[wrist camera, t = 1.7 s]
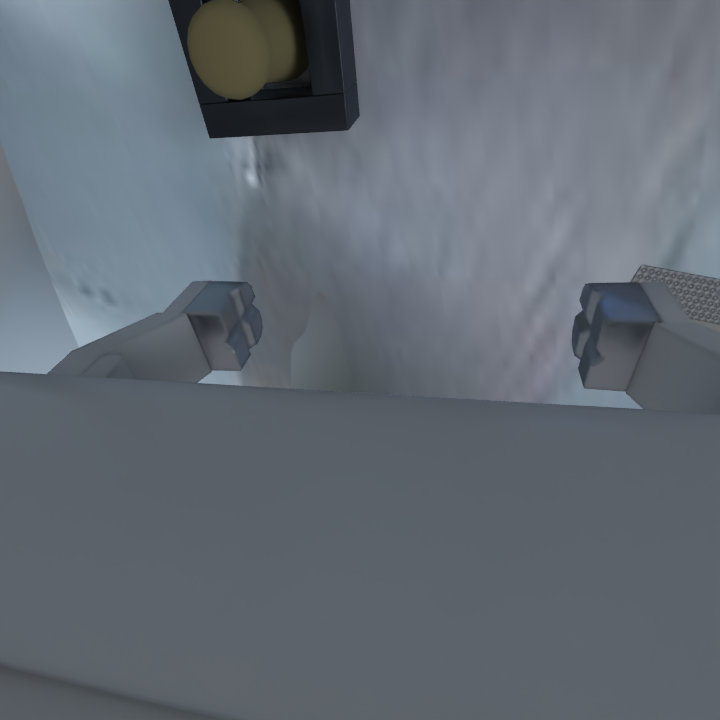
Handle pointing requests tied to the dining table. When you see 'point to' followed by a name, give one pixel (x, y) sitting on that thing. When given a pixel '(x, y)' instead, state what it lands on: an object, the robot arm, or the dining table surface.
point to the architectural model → (689, 293)
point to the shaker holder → (288, 105)
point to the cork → (247, 45)
